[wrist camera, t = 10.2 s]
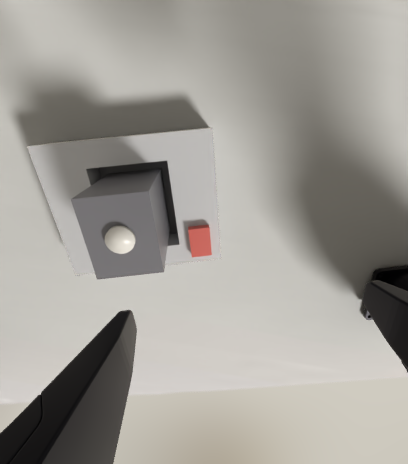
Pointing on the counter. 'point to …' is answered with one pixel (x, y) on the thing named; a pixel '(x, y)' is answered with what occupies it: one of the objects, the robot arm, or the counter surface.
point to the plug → (125, 223)
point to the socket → (132, 159)
